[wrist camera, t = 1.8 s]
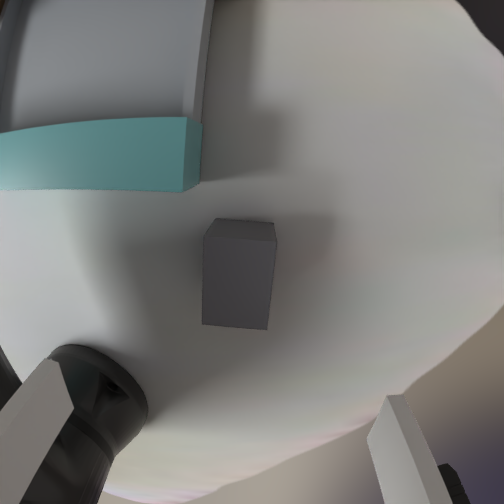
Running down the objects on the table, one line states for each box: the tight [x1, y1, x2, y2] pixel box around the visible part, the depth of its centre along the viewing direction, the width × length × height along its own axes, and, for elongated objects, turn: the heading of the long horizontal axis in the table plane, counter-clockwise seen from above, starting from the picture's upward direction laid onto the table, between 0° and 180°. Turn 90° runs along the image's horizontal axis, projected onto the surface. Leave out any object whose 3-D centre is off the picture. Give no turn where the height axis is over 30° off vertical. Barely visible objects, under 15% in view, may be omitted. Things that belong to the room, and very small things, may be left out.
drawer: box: [0, 0, 214, 192], centre depth 20 cm, size 23×24×6 cm
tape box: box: [202, 218, 277, 330], centre depth 26 cm, size 7×5×6 cm
